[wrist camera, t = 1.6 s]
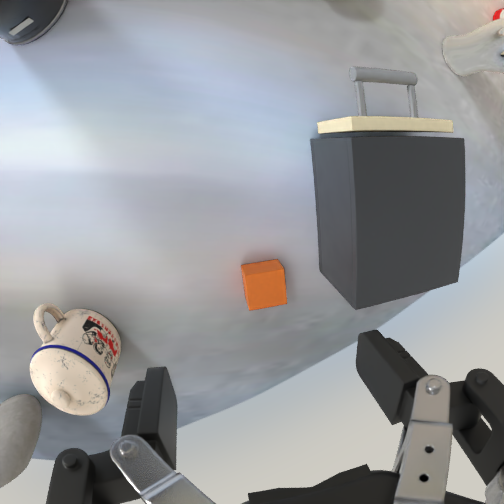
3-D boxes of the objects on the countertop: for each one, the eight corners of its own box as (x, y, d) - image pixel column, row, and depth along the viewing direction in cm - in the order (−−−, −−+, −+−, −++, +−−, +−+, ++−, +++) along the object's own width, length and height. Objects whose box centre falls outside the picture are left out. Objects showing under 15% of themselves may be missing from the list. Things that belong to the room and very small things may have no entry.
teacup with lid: (137, 356, 36) (122, 425, 25) (82, 374, 36) (58, 438, 25) (85, 272, 32) (43, 325, 21) (31, 299, 32) (-15, 352, 21)
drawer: (311, 76, 28) (342, 58, 21) (403, 80, 30) (446, 71, 22) (326, 249, 34) (357, 276, 27) (411, 234, 36) (451, 255, 28)
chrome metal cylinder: (454, 26, 29) (533, 5, 14) (479, 67, 31) (559, 60, 17) (431, 44, 29) (517, 21, 15) (458, 88, 32) (546, 83, 17)
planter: (15, 428, 38) (-17, 507, 20) (-14, 401, 35) (-55, 477, 18) (70, 398, 37) (34, 503, 19) (35, 364, 34) (-18, 464, 17)
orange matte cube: (240, 264, 34) (244, 275, 32) (277, 258, 35) (284, 268, 32) (245, 298, 36) (249, 310, 33) (280, 292, 36) (287, 304, 33)
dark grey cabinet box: (310, 139, 31) (350, 137, 22) (408, 136, 33) (464, 138, 24) (319, 271, 36) (355, 310, 27) (409, 253, 37) (458, 282, 28)
